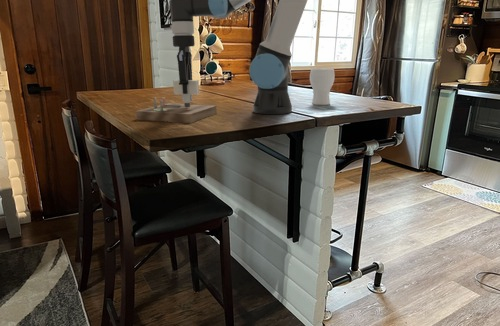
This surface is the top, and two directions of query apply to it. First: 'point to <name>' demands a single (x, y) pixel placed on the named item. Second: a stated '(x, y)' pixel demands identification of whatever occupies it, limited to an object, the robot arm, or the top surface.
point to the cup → (321, 84)
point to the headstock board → (176, 112)
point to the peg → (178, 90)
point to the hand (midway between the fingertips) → (187, 101)
